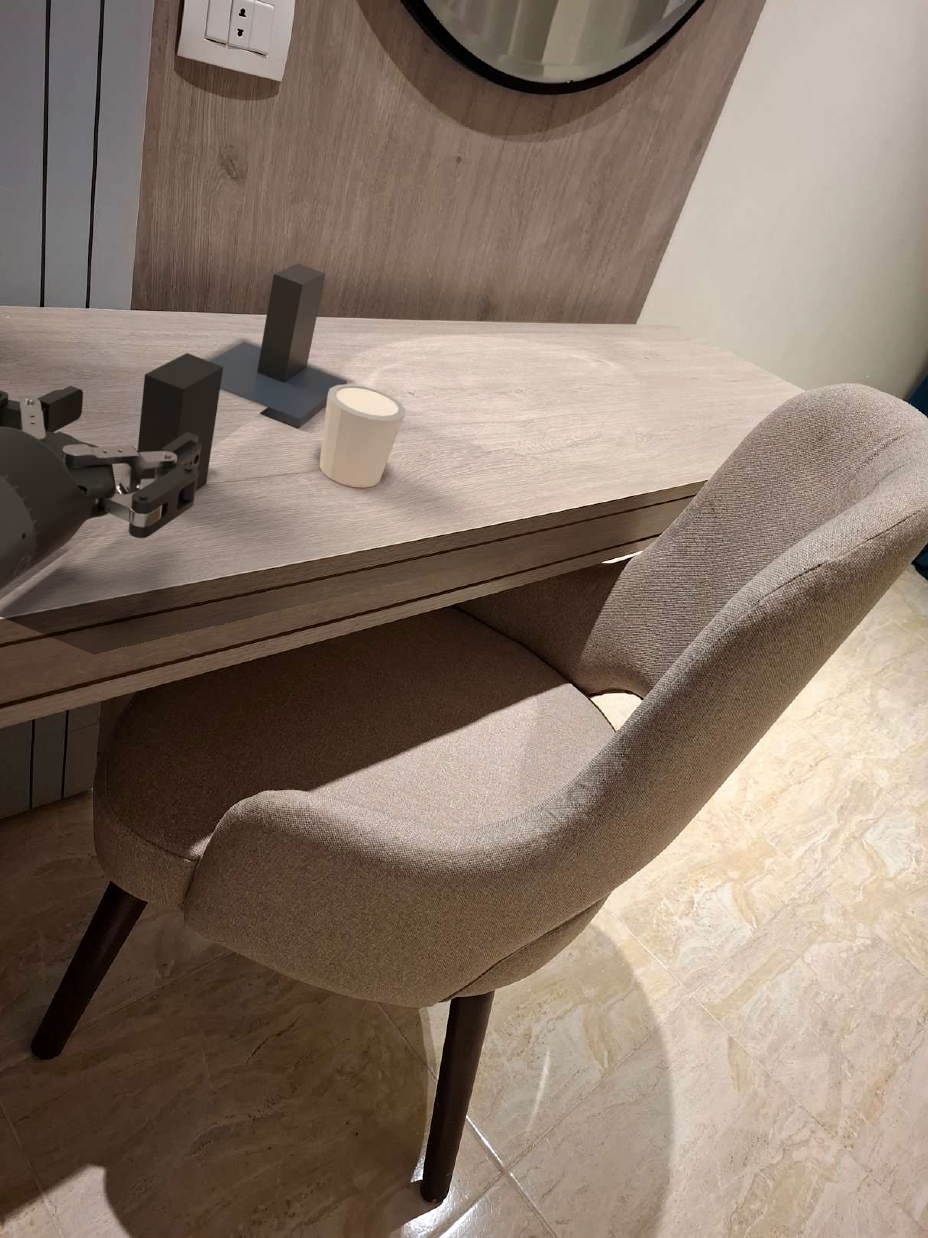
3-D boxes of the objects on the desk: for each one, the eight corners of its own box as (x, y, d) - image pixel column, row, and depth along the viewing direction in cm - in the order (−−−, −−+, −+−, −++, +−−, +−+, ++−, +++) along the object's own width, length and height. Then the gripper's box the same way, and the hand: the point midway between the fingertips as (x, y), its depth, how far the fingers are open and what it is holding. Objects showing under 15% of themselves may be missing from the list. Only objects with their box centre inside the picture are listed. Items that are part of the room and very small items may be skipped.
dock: (182, 383, 87) (197, 268, 80) (242, 349, 97) (259, 246, 91) (298, 428, 86) (321, 315, 80) (345, 389, 97) (368, 288, 91)
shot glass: (401, 480, 83) (421, 411, 80) (354, 498, 78) (373, 425, 74) (345, 446, 86) (362, 378, 82) (296, 462, 80) (311, 389, 77)
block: (132, 497, 68) (144, 373, 63) (172, 469, 73) (187, 352, 68) (168, 512, 68) (184, 389, 63) (206, 482, 73) (223, 366, 68)
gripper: (95, 509, 45) (240, 410, 59) (-161, 407, 46) (40, 332, 59) (87, 626, 49) (224, 508, 63) (-148, 531, 50) (38, 435, 63)
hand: (134, 423), depth 61 cm, fingers open, 8 cm apart
